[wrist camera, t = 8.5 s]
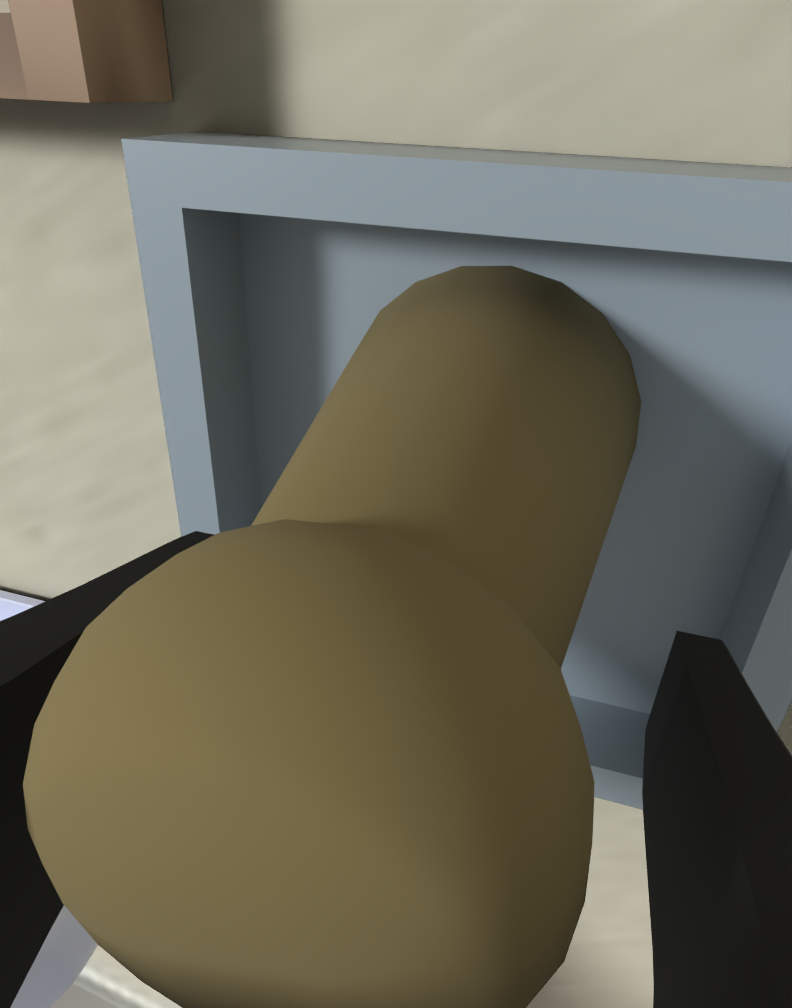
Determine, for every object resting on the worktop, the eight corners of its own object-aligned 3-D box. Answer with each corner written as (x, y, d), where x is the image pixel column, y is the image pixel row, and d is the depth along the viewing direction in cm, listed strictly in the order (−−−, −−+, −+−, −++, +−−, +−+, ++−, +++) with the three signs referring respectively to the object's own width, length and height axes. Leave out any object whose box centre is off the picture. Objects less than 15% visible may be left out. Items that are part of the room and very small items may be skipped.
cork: (631, 236, 12) (616, 700, 3) (648, 536, 15) (668, 1261, 6) (316, 290, 14) (-264, 655, 5) (382, 543, 17) (82, 1077, 8)
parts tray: (719, 745, 17) (730, 832, 15) (248, 632, 20) (205, 693, 18) (951, 177, 11) (1025, 197, 9) (198, 131, 14) (121, 138, 12)
